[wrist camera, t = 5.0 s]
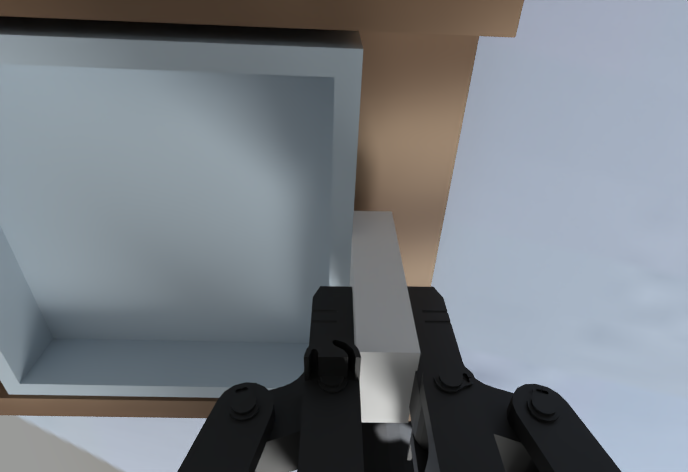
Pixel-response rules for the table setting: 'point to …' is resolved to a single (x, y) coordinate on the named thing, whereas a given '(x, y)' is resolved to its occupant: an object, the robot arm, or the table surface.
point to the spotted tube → (386, 447)
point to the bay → (374, 123)
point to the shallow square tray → (170, 202)
